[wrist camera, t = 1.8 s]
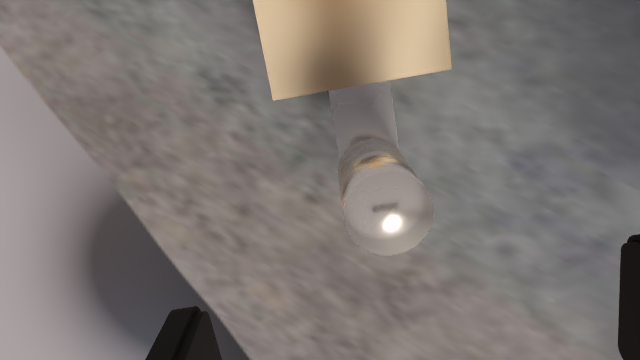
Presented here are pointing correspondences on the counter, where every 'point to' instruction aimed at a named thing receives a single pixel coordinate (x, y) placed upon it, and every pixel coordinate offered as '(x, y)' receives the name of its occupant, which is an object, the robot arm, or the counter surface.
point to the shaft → (377, 173)
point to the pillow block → (349, 42)
